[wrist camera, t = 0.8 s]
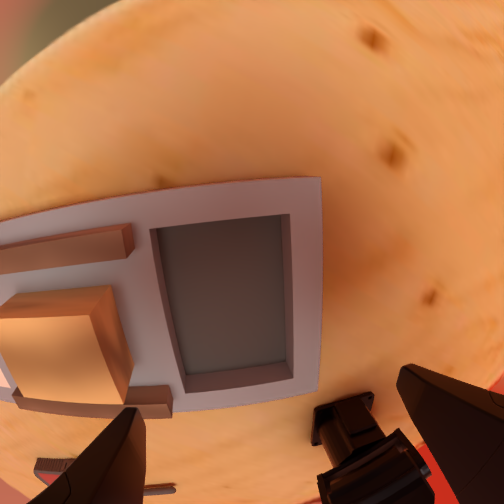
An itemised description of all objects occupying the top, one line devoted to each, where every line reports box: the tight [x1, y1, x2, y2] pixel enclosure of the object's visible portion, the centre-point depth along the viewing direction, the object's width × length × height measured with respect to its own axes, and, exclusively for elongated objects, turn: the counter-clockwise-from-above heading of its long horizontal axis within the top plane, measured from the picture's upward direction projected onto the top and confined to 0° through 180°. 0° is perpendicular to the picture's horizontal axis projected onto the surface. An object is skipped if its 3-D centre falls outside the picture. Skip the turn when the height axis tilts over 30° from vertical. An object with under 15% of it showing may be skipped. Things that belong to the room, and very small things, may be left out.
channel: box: [0, 223, 173, 419], centre depth 15 cm, size 13×14×2 cm
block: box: [0, 285, 134, 404], centre depth 14 cm, size 6×8×4 cm
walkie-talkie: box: [34, 458, 176, 496], centre depth 23 cm, size 9×4×20 cm
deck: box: [0, 176, 323, 413], centre depth 17 cm, size 16×36×2 cm, turn 94°
